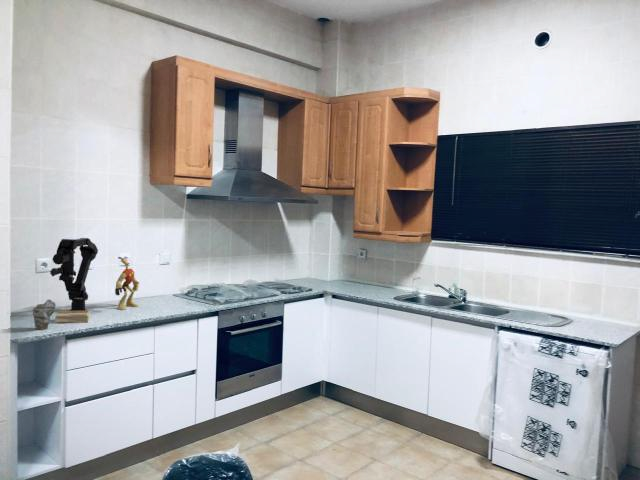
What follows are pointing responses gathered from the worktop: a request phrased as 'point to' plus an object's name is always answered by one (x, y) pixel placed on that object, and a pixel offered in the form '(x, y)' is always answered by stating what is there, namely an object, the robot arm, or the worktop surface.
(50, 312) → the rock
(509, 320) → the worktop surface
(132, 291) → the toy
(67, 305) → the worktop surface
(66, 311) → the flap
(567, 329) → the worktop surface
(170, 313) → the worktop surface
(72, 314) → the plywood box
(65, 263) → the robot arm
